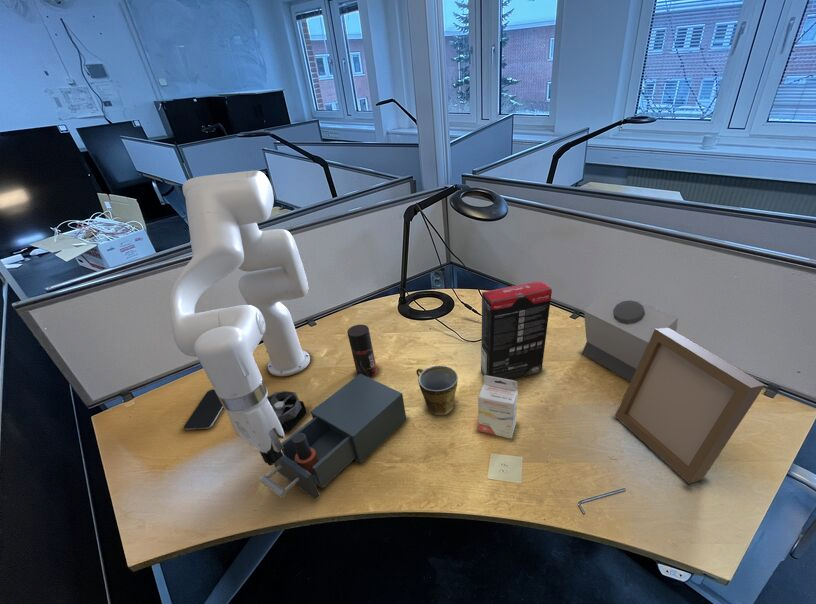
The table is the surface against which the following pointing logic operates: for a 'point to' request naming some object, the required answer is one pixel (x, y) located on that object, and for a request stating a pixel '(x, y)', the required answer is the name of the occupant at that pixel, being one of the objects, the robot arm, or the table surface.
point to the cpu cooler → (287, 408)
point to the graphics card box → (514, 330)
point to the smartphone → (205, 412)
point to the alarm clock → (621, 331)
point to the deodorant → (362, 350)
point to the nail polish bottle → (304, 453)
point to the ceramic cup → (438, 388)
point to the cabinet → (363, 413)
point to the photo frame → (685, 402)
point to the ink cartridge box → (497, 406)
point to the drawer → (330, 451)
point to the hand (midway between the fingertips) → (274, 459)
